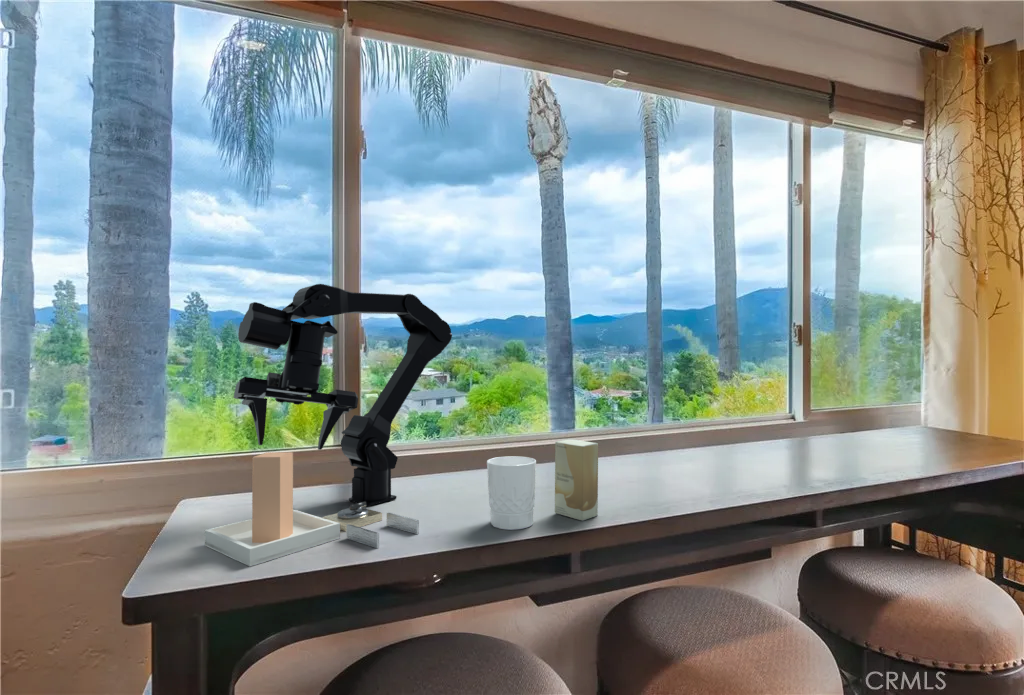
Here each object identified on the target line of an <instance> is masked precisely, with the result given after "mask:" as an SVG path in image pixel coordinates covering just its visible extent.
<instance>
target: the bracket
mask: <svg viewBox="0 0 1024 695" xmlns="http://www.w3.org/2000/svg"><path fill="white" fill-rule="evenodd" d="M366 507H367V504H366V502H365V501H363V502H360V503H353V504H350V505H349V507H348V508H343V509H341V510H339V511H338V512H336V513H333V514H328V515H325V516H322V518H324V519H327V520H331V521H334V522H338V523H340V531H343V532H346V539H347V540H350V541H352V542H357V543H359V544H363V545H365V546H369V547H372V548H375V549H379V548H380V533H379V532H378V531H373V530H369V529H366V528H364V526H368V525H371V524H374V523H378V522H380V521H383V512H380V511H376V510H373V509H369V508H366ZM386 527H390V528H394V529H396V530H397V529H398V530H401V531H405V532H407V533H412V534H415V535H418V534H420V520H419V519H415V518H412V517H407V516H404V515H400V514H397V513H393V512H386Z"/></svg>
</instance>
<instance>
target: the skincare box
mask: <svg viewBox="0 0 1024 695" xmlns="http://www.w3.org/2000/svg"><path fill="white" fill-rule="evenodd" d="M554 444H555V449H554V450H555V451H554V454H555V455H554V456H555V457H554V513H555V514H557V515H562V516H565V517H568V518H571V519H575V520H578V521H582V522H583V521H585V520H586V521H587V520H589V519H591V518H594V517H597V516H598V514H599V511H598V509H599V505H598V504H599V500H598V499H599V498H598V497H599V494H598V493H599V443H598V442H592V441H587V440H579V439H578V440H577V439H571V438H569V439H563V440H559V441H555V442H554Z"/></svg>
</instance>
